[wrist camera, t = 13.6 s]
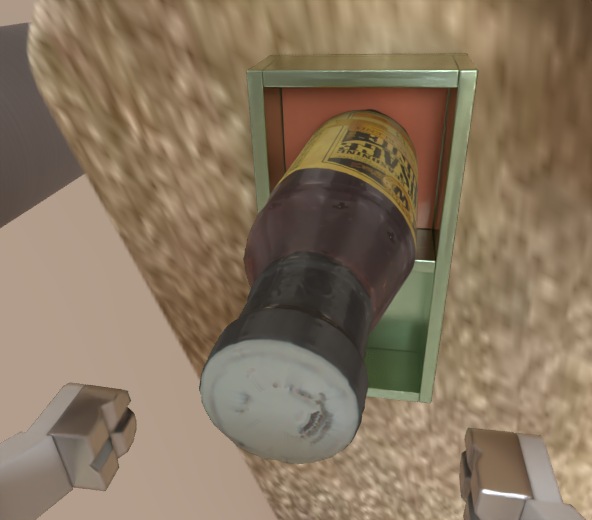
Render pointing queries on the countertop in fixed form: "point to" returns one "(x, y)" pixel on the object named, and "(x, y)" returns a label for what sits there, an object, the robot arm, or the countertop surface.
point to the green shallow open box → (431, 176)
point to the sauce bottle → (317, 292)
